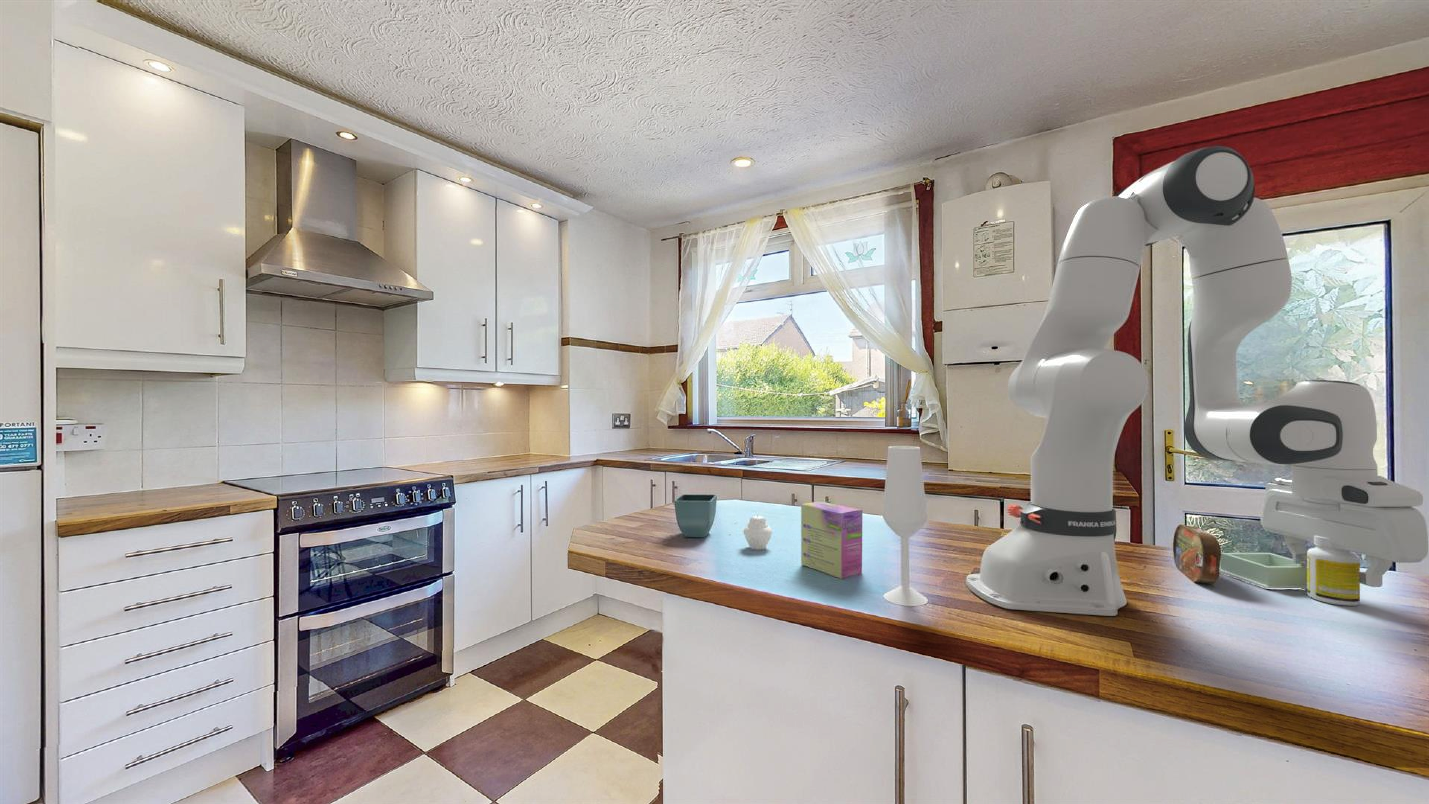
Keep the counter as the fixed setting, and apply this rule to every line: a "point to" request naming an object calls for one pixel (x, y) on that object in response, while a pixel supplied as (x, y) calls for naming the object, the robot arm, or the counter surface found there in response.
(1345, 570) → the supplement bottle
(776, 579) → the counter surface
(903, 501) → the champagne flute
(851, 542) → the box
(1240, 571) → the tray
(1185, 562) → the tin
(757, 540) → the white rounded piece
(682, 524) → the flower pot
